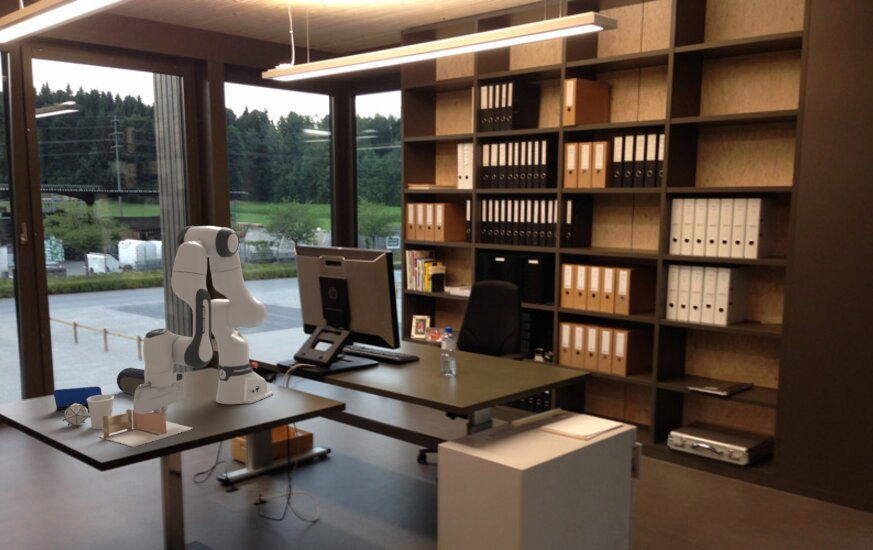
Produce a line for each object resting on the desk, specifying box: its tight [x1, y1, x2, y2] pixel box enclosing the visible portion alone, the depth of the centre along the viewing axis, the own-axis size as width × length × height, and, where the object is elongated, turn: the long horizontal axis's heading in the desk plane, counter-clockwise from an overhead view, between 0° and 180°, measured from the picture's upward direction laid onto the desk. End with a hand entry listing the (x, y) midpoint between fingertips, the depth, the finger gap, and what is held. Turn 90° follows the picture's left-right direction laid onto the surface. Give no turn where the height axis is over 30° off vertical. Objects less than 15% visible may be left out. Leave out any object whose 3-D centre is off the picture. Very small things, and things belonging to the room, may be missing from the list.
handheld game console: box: [53, 386, 103, 412], centre depth 265 cm, size 16×13×9 cm
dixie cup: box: [87, 394, 115, 430], centre depth 241 cm, size 8×8×10 cm
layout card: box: [99, 420, 194, 448], centre depth 235 cm, size 22×18×1 cm
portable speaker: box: [116, 367, 145, 395], centre depth 283 cm, size 25×10×10 cm, turn 60°
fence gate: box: [132, 409, 167, 433], centre depth 235 cm, size 14×2×6 cm, turn 68°
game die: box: [61, 401, 91, 429], centre depth 242 cm, size 9×8×10 cm
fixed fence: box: [102, 408, 133, 440], centre depth 232 cm, size 10×2×7 cm, turn 147°
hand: (160, 420), depth 236 cm, fingers closed
